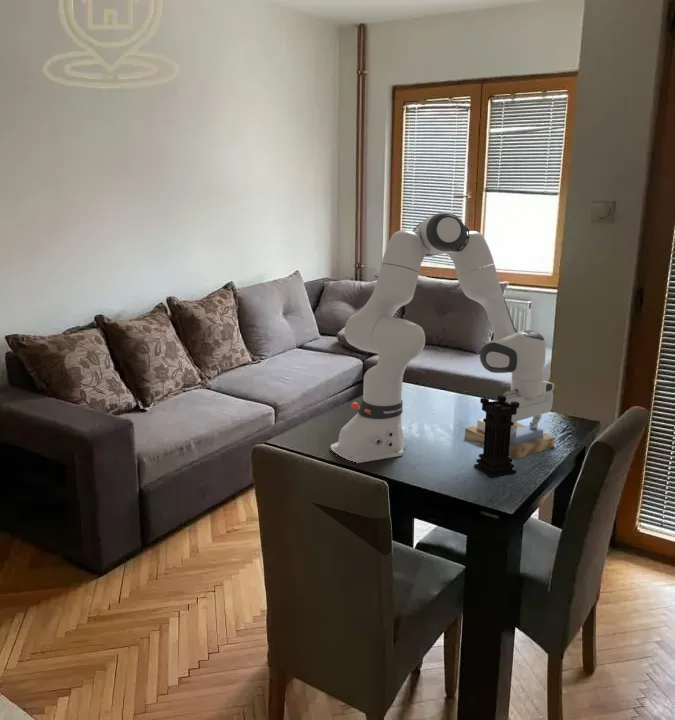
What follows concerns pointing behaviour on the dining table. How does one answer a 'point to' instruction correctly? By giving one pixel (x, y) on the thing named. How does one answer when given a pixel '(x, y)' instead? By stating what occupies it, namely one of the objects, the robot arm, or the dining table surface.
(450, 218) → the robot arm
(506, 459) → the chess piece
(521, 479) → the dining table surface
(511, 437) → the blue-grey rectangular block
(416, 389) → the dining table surface
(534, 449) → the key console
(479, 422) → the ivory key
